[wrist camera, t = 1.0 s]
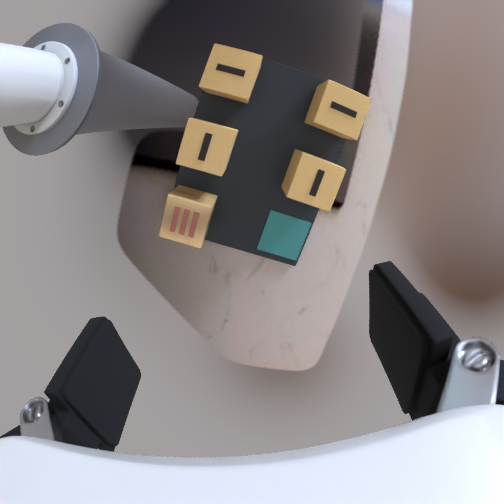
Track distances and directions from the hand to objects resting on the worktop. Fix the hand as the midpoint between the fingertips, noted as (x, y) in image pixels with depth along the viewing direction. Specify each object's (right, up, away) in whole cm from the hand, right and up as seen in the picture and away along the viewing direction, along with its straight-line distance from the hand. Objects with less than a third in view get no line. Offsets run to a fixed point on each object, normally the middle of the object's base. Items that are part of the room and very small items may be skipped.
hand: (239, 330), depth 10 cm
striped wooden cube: (-6, +7, +20) cm, 22 cm away
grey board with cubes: (+1, +12, +19) cm, 22 cm away
